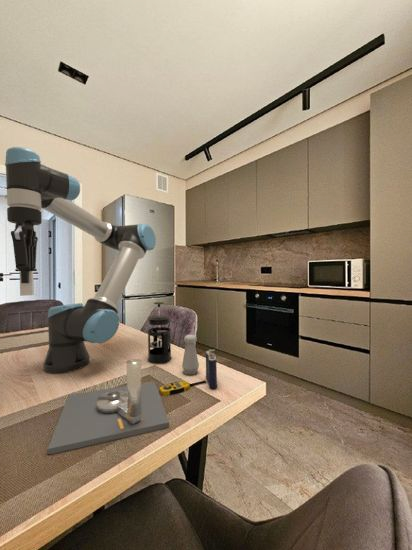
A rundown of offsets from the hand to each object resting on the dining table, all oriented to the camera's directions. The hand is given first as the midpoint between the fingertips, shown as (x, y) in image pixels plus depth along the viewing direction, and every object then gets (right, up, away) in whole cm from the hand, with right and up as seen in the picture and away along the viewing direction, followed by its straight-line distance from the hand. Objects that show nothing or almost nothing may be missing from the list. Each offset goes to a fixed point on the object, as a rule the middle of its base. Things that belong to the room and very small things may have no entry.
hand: (27, 295), depth 68 cm
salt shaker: (+44, -29, +19) cm, 56 cm away
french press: (+31, -29, +31) cm, 52 cm away
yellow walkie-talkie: (+42, -29, +7) cm, 52 cm away
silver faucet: (+28, -28, -7) cm, 40 cm away
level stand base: (+25, -29, -4) cm, 39 cm away
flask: (+51, -29, +11) cm, 60 cm away
